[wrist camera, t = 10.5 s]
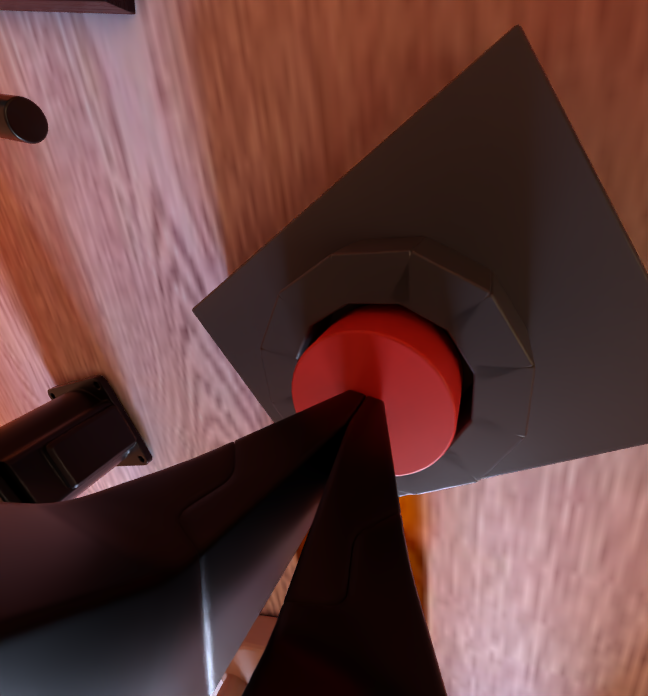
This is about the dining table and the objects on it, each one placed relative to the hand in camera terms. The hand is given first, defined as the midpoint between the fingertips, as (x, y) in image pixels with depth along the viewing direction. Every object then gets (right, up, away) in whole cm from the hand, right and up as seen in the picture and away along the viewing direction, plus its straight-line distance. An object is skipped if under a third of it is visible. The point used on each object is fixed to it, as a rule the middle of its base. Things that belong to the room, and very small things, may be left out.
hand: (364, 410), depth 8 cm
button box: (+2, +2, +5) cm, 6 cm away
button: (+1, +1, +2) cm, 2 cm away
